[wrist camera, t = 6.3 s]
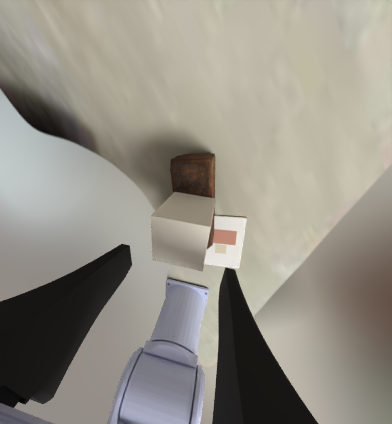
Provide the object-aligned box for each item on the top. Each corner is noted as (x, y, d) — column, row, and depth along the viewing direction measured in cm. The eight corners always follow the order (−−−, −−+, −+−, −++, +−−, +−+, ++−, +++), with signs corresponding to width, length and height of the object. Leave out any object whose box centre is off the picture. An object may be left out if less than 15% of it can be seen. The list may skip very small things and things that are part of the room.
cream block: (209, 234, 16) (202, 271, 11) (172, 226, 16) (152, 259, 12) (215, 198, 14) (210, 227, 10) (174, 191, 14) (151, 215, 10)
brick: (181, 153, 17) (166, 159, 13) (216, 153, 17) (212, 158, 13) (187, 231, 22) (178, 253, 18) (214, 233, 21) (211, 256, 17)
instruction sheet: (238, 267, 24) (239, 268, 24) (201, 262, 25) (200, 263, 25) (246, 217, 20) (246, 218, 19) (200, 214, 21) (200, 215, 20)
